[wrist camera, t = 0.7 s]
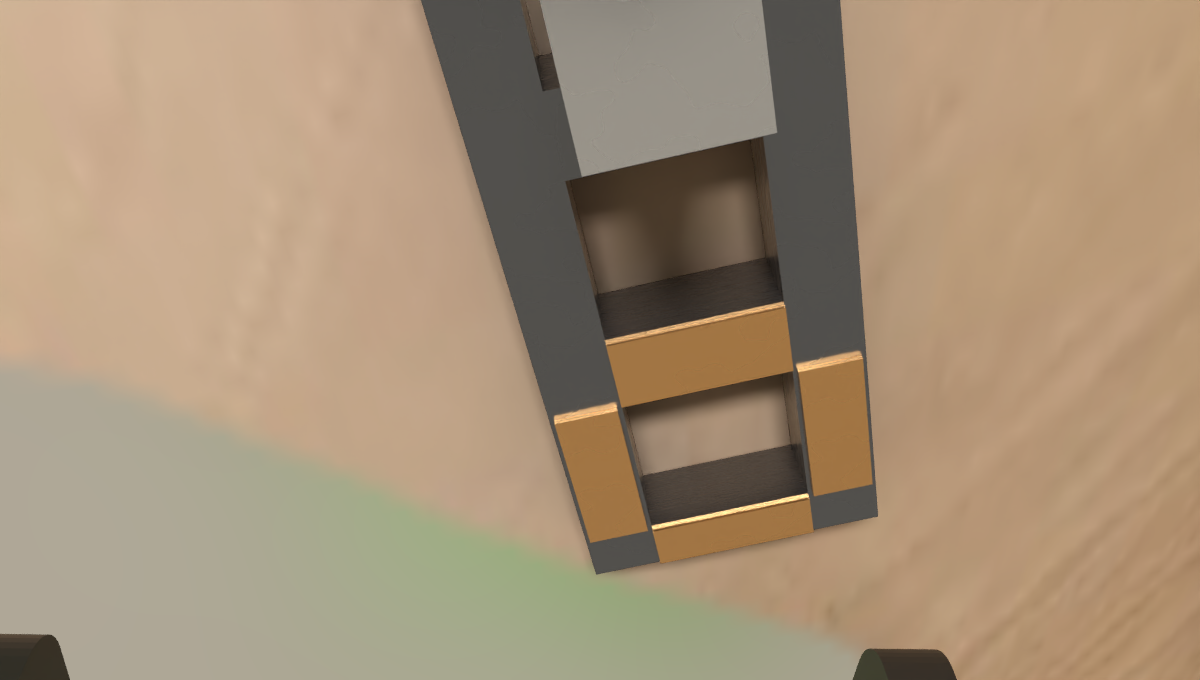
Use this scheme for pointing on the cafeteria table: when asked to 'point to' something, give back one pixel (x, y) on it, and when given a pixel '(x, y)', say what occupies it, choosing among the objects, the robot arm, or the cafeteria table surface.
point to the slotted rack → (680, 297)
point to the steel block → (659, 76)
